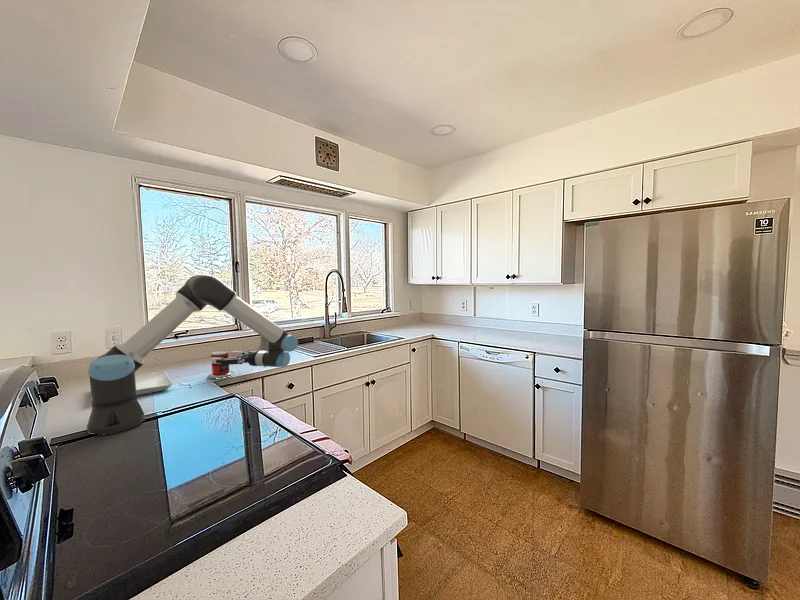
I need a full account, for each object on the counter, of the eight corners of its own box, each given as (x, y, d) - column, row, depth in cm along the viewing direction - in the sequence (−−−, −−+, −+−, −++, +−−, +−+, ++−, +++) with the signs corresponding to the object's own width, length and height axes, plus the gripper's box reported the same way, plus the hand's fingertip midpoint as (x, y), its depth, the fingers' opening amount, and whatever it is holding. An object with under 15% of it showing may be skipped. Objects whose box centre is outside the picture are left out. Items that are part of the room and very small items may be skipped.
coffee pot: (253, 356, 215) (252, 333, 214) (271, 353, 222) (270, 330, 221) (266, 362, 199) (264, 337, 198) (285, 358, 206) (283, 334, 205)
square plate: (94, 390, 155) (93, 382, 155) (166, 378, 172) (166, 370, 172) (91, 407, 134) (90, 398, 134) (173, 391, 152) (172, 382, 151)
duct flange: (222, 380, 166) (222, 377, 166) (202, 378, 168) (201, 376, 168) (239, 373, 177) (239, 370, 177) (220, 372, 180) (219, 369, 180)
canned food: (222, 376, 168) (221, 354, 167) (208, 375, 170) (207, 353, 169) (233, 371, 176) (231, 350, 175) (219, 371, 177) (218, 350, 176)
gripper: (242, 373, 156) (203, 371, 160) (274, 359, 180) (239, 358, 184) (241, 357, 155) (202, 355, 160) (273, 345, 179) (238, 344, 184)
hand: (222, 357), depth 172 cm, fingers open, 13 cm apart
